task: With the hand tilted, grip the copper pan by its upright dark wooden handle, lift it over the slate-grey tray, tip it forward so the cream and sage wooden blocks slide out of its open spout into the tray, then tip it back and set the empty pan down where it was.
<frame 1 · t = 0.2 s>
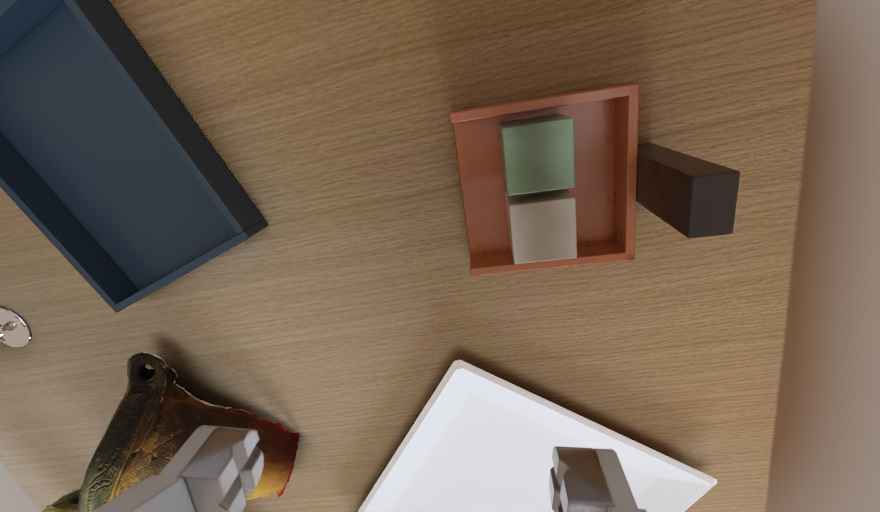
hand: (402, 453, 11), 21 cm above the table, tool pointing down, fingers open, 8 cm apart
pot: (198, 412, 41), on the table
tray: (120, 158, 31), on the table
sage block: (530, 148, 27), point 1 cm above the table, touching pan
wineglass: (9, 326, 38), on the table
pan: (539, 179, 29), on the table, touching cream block, sage block
plate: (512, 491, 41), on the table
cream block: (535, 214, 29), point 1 cm above the table, touching pan
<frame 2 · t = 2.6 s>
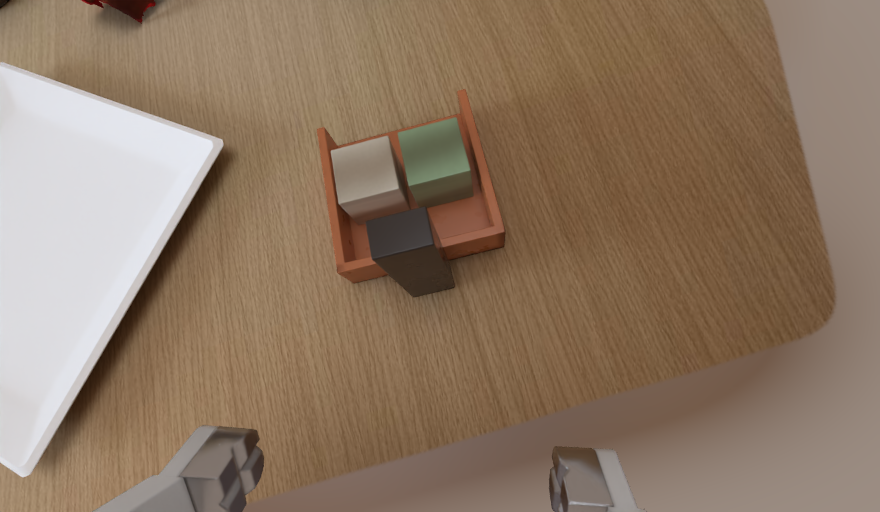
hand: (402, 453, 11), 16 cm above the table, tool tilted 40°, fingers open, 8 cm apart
sage block: (440, 179, 30), point 1 cm above the table, touching pan
pan: (413, 196, 30), on the table, touching cream block, sage block
plate: (38, 242, 34), on the table
cream block: (380, 194, 30), point 1 cm above the table, touching pan
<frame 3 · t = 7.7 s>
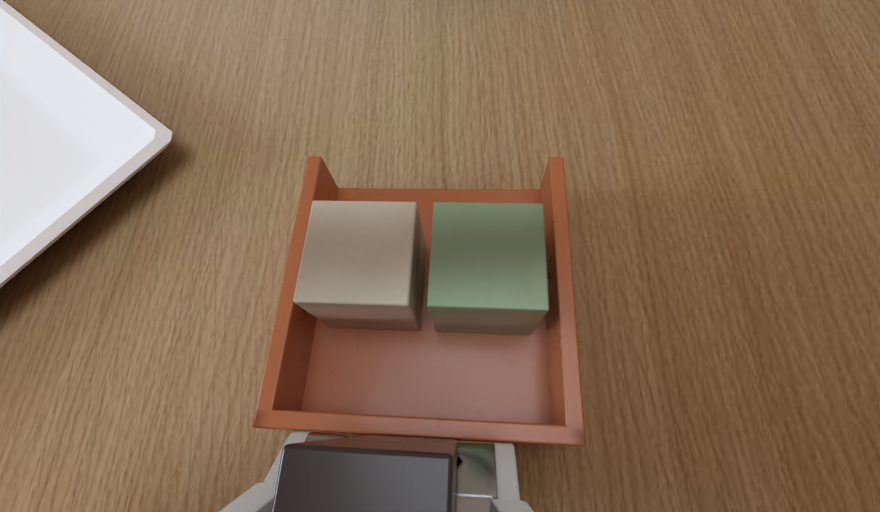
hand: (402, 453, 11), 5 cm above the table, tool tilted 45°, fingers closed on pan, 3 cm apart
sage block: (483, 287, 18), point 1 cm above the table, touching pan
pan: (431, 301, 18), on the table, touching cream block, gripper, sage block
cream block: (379, 284, 18), point 1 cm above the table, touching pan
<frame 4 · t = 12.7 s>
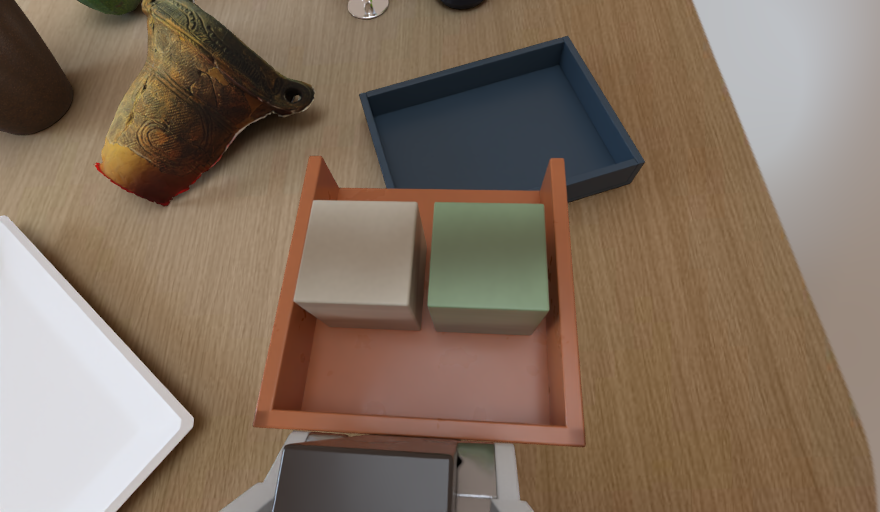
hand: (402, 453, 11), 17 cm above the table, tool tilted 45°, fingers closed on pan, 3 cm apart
pot: (231, 116, 39), on the table
tray: (490, 148, 35), on the table
fruit: (127, 8, 46), on the table
plant pot: (38, 108, 41), on the table
sage block: (483, 288, 18), point 12 cm above the table, touching pan
wineglass: (368, 6, 44), on the table
pan: (431, 301, 18), point 12 cm above the table, touching cream block, gripper, sage block
cream block: (379, 284, 18), point 13 cm above the table, touching pan
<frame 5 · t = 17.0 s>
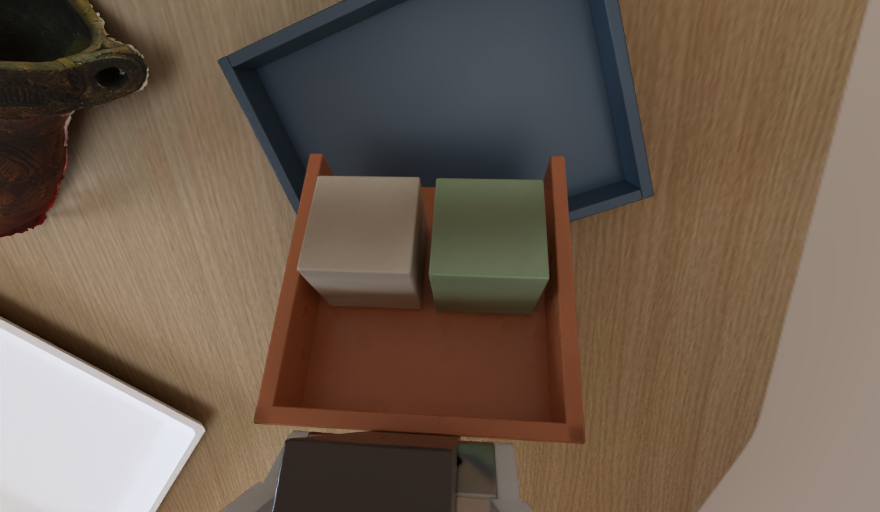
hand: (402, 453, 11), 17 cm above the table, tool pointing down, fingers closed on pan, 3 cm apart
pot: (34, 59, 25), on the table
tray: (444, 124, 24), on the table
sage block: (484, 270, 18), point 9 cm above the table, tilted 48°
pan: (431, 298, 18), point 9 cm above the table, tilted 45°, touching gripper
plate: (37, 426, 37), on the table
cream block: (381, 265, 18), point 9 cm above the table, tilted 48°
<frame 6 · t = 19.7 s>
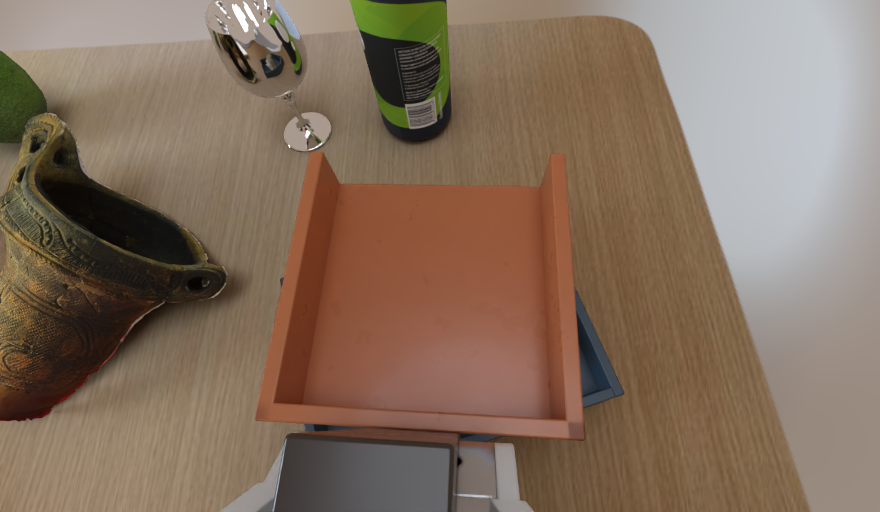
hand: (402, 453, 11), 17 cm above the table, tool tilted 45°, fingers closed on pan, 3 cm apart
pot: (137, 283, 33), on the table
tray: (441, 340, 29), on the table
fruit: (32, 129, 40), on the table
wineglass: (308, 133, 37), on the table
pan: (432, 296, 18), point 12 cm above the table, touching gripper
beverage can: (417, 119, 37), on the table
when the fingers open (5 cm above the table, at t = 28.6 s): pan stays where it is, on the table.
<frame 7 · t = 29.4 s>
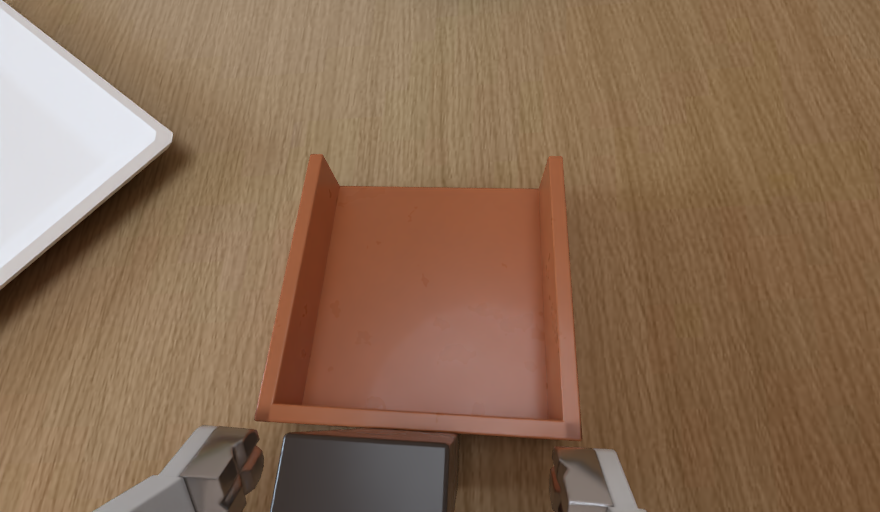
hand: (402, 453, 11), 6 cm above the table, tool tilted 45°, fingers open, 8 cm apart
pan: (431, 298, 18), on the table
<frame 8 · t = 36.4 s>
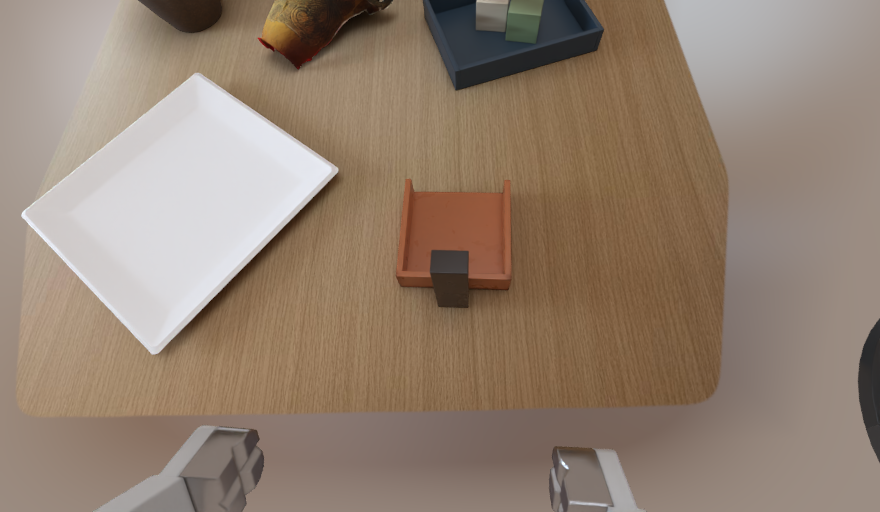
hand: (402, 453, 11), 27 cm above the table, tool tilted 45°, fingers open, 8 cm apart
pot: (332, 19, 58), on the table
tray: (507, 33, 55), on the table
plant pot: (198, 17, 60), on the table
sage block: (526, 2, 50), point 4 cm above the table, tilted 180°, touching tray
pan: (456, 239, 44), on the table
plate: (190, 201, 48), on the table
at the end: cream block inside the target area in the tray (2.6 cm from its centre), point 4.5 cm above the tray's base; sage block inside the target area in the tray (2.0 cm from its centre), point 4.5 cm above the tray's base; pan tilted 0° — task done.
